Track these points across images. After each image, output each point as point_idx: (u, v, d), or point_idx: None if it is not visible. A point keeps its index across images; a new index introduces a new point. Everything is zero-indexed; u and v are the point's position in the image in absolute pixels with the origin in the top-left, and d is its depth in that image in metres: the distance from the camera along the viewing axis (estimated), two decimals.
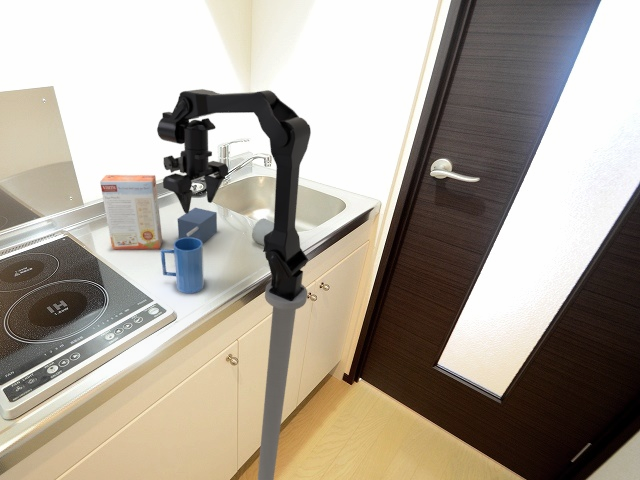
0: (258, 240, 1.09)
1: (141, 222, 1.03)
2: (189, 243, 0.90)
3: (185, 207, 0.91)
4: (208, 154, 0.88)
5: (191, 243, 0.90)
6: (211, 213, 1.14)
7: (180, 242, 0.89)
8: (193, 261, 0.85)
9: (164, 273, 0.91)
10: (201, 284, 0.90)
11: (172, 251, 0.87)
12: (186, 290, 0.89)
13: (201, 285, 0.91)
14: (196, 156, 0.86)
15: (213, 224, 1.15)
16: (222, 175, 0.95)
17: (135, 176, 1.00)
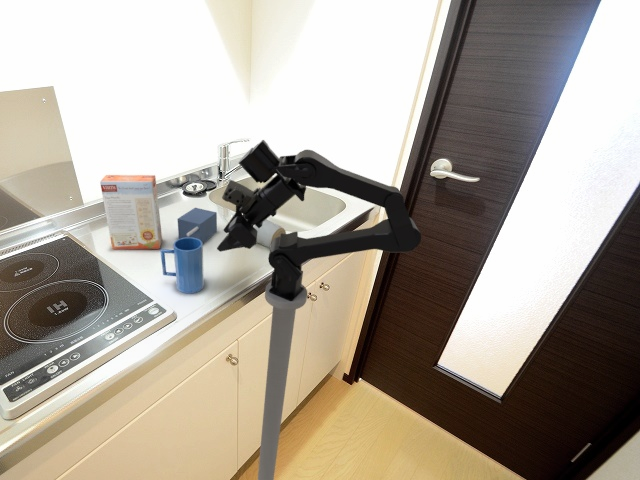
0: (258, 240, 1.09)
1: (141, 222, 1.03)
2: (189, 243, 0.90)
3: (225, 248, 0.80)
4: None
5: (191, 243, 0.90)
6: (211, 213, 1.14)
7: (180, 242, 0.89)
8: (193, 261, 0.85)
9: (164, 273, 0.91)
10: (201, 284, 0.90)
11: (172, 251, 0.87)
12: (186, 290, 0.89)
13: (201, 285, 0.91)
14: (272, 212, 0.77)
15: (213, 224, 1.15)
16: None
17: (135, 176, 1.00)
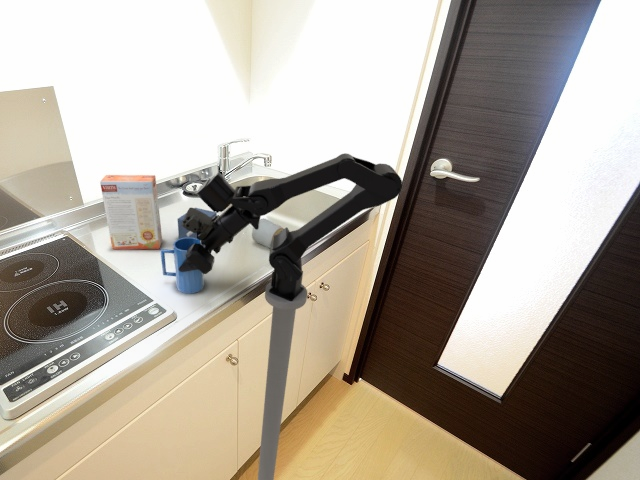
0: (258, 240, 1.09)
1: (141, 222, 1.03)
2: (189, 243, 0.90)
3: (185, 269, 0.85)
4: None
5: (190, 243, 0.90)
6: (211, 213, 1.14)
7: (180, 242, 0.89)
8: None
9: (164, 273, 0.91)
10: (201, 284, 0.90)
11: (172, 251, 0.87)
12: (186, 290, 0.89)
13: (201, 285, 0.91)
14: (229, 239, 0.82)
15: None
16: None
17: (135, 176, 1.00)
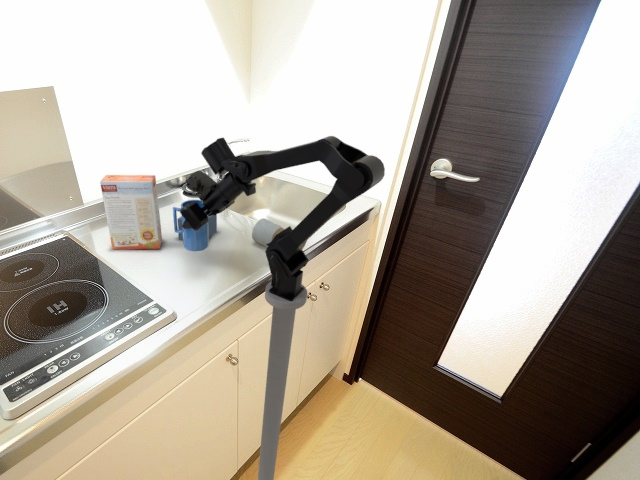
0: (258, 240, 1.09)
1: (141, 222, 1.03)
2: (199, 205, 0.98)
3: (187, 226, 0.93)
4: (233, 200, 0.90)
5: (200, 206, 0.97)
6: None
7: None
8: None
9: (175, 230, 1.01)
10: (203, 245, 0.98)
11: None
12: (189, 247, 0.98)
13: (203, 246, 0.98)
14: (224, 203, 0.87)
15: (213, 224, 1.15)
16: None
17: (135, 176, 1.00)
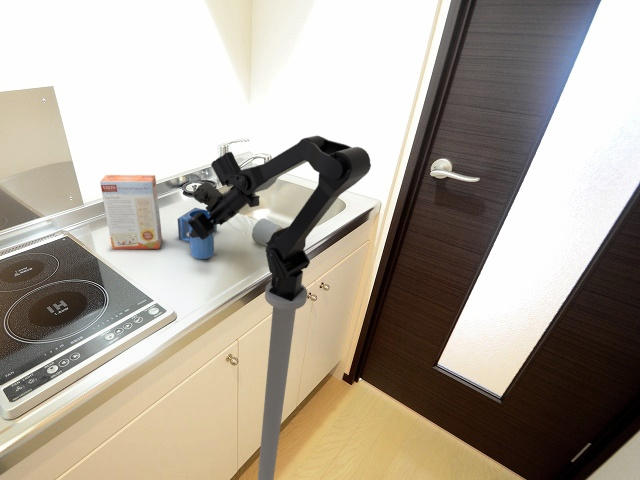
0: (258, 240, 1.09)
1: (141, 222, 1.03)
2: None
3: (194, 235, 0.98)
4: (238, 211, 0.94)
5: (206, 215, 1.02)
6: None
7: None
8: None
9: (182, 238, 1.05)
10: (209, 252, 1.02)
11: (188, 219, 1.01)
12: (195, 255, 1.02)
13: (209, 253, 1.02)
14: (230, 213, 0.92)
15: None
16: None
17: (135, 176, 1.00)
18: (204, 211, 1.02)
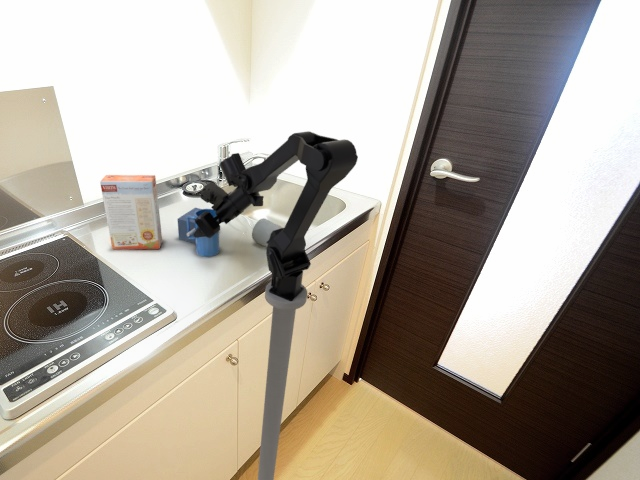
0: (258, 240, 1.09)
1: (141, 222, 1.03)
2: None
3: (198, 235, 1.00)
4: None
5: (212, 214, 1.05)
6: None
7: (203, 212, 1.04)
8: None
9: (188, 236, 1.08)
10: (214, 250, 1.05)
11: (194, 218, 1.04)
12: (201, 253, 1.05)
13: (214, 251, 1.05)
14: (235, 213, 0.95)
15: None
16: (236, 216, 1.05)
17: (135, 176, 1.00)
18: (210, 210, 1.04)
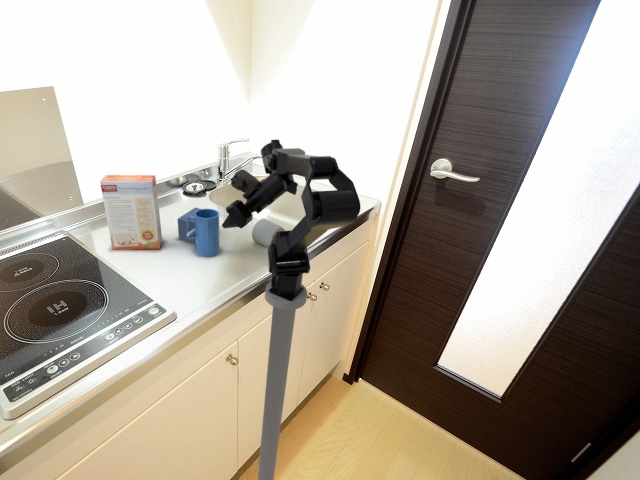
0: (258, 240, 1.09)
1: (141, 222, 1.03)
2: (211, 214, 1.05)
3: (227, 225, 0.94)
4: None
5: (212, 214, 1.05)
6: None
7: (203, 212, 1.04)
8: (207, 228, 1.00)
9: (188, 236, 1.08)
10: (214, 250, 1.05)
11: (194, 218, 1.04)
12: (201, 253, 1.05)
13: (214, 251, 1.05)
14: (269, 201, 0.89)
15: None
16: None
17: (135, 176, 1.00)
18: (210, 210, 1.04)
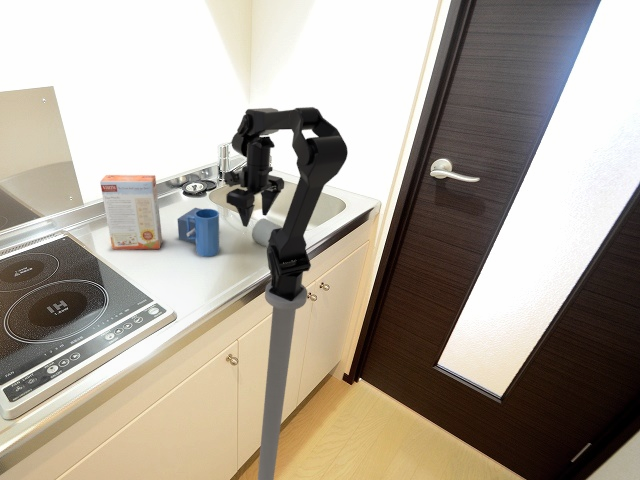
0: (258, 240, 1.09)
1: (141, 222, 1.03)
2: (211, 214, 1.05)
3: (245, 221, 0.93)
4: (269, 169, 0.90)
5: (212, 214, 1.05)
6: None
7: (203, 212, 1.04)
8: (207, 228, 1.00)
9: (188, 236, 1.08)
10: (214, 250, 1.05)
11: (194, 218, 1.04)
12: (201, 253, 1.05)
13: (214, 251, 1.05)
14: (259, 172, 0.88)
15: None
16: (279, 189, 0.97)
17: (135, 176, 1.00)
18: (210, 210, 1.04)
